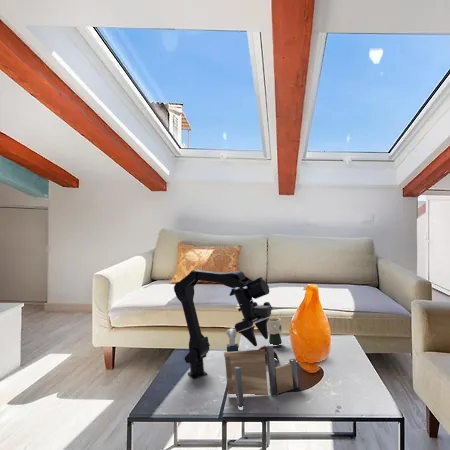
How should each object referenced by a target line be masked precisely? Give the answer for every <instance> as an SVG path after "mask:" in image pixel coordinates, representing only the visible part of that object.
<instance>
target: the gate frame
mask: <svg viewBox="0 0 450 450" xmlns="http://www.w3.org/2000/svg"><path fill="white" fill-rule="evenodd" d="M265 346H266V349H267V371H268V382H269V395H270V394H271V395H276V396H277V395H279V393H280V394H282V393H284V392H285V393H286V392H287V391H291V390H294V389H295V390H296V389H299V381H298V368H297V359H295V358H290V359H289V361H288V363H285V364H281V365H277V366H276V365H275V364H276V363H275V359H274V351H275V350H274V346H269V345H265ZM273 350H274V351H273ZM234 373H235V384H236V396H237V397H236V404H237V405H238V406H239V407H242V406H244V407H245V404H244V402H245V401H244V397H243V390H242V378H241V368H240V367H239V366H237V367H234ZM271 395H270V396H271ZM237 405H236V406H237Z"/></svg>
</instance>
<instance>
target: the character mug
mask: <svg viewBox="0 0 450 450" xmlns="http://www.w3.org/2000/svg"><path fill="white" fill-rule="evenodd" d="M268 318H269V320H268V322H267V332H268V344H269V343H270V344H273V345H279V344H281V343H282V344H283V342H282V338H281V337H282V336H281V333H282V332H283V331H282V329H283V327H282V322H281V321H282V319H281V318H280V317H268Z"/></svg>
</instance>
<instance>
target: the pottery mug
mask: <svg viewBox="0 0 450 450" xmlns="http://www.w3.org/2000/svg"><path fill="white" fill-rule="evenodd" d="M266 346H267V345H263V346H260V348H258V349H257V350H261V349H265V363H268V361H267V349H266ZM273 351H274V358H276V359H277V360H276V361H277V362H278V361H279V362H280V359H279V356H278V354H277V352H276V350H274V349H273Z"/></svg>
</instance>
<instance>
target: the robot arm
mask: <svg viewBox="0 0 450 450" xmlns="http://www.w3.org/2000/svg"><path fill="white" fill-rule="evenodd" d="M199 281H201V282H209V283H210V282H211V283H216V284H217V283H218V284H219V283H220V284H221V285H223V286H225V287H228V288H231V289H230V293H229V296H230V297H232V296H235V299H236V302H237V304H238V306H239V308H238V309H237V310H238V312H241V314H242V317H243V318H242V319H241V321H239V322H237V323H235V325H234V329H235V330H236V332H237V333H238V334H241V335H242V337H244V338H245V339H247V341H249V343H251V344H252V345H253V346H254V347H257V346H258V343H257V338H256V335H255V332H254V331H255V326H256V328H257V330H258V331H259V333H260V334H261V336H262V337H263V338H264V339H265V340H269V333H268V332H267V322H268V320H269V318H270V317H271V315H272V310H273V306H272V305H271V303H270V301H265V302H264V303H263V304H261V305H258V302H256V301H254V300H257V299H259V298H262V297H264V296H267V295H269V294H270V287H269V284H268V283H267V282H266V280H264V279H263V277H262V276H260V277H258V278H256V279H254V280H252V279H251V278H249V277H248V276H246V275H245V273H244V272H243V271H241V270H235V271H227V272H220V271H213V270H202V269H199V268H197V269H194V270H191V271H190V272H189V273H188V274H187V275H186V276H185V277H183V278H182V279H181V280H179V281H178V282H175V284H174V286H173V291H174V293H175V295H176V298H177V299H178V301H180V304H181V305H182V309H183V314H184V318H185V321H186V324H187V325H186V327H187V330H188V334H189V341H188V342H189V343H188V353H187V354H186V356H184V361H185V363H186V364H189V371H188V372H187V375H188V376H189V377H190V378H192V379H198V378H200V377H204V376H207V375H208V373H207V371H205V366H204V365H205V364H204V358H206V357H207V354H208V353H209V351H210V346H211V345H210V342H209V337H208V336H204V335H203V334H202V330H201V326H200V323H199V318H198V314H197V311H196V307H195V302H194V297H195V286H196V285H197V284H198V283H199Z"/></svg>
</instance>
